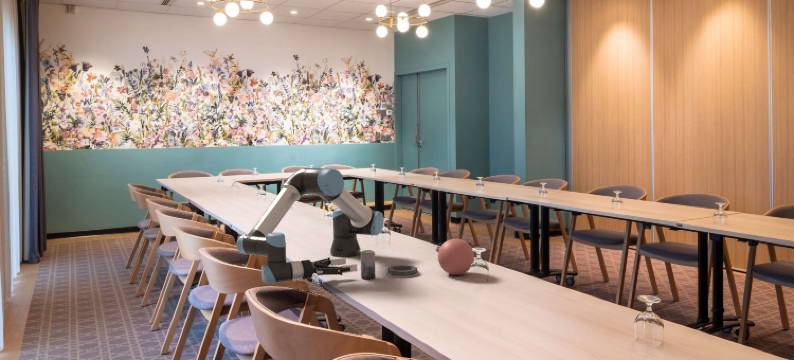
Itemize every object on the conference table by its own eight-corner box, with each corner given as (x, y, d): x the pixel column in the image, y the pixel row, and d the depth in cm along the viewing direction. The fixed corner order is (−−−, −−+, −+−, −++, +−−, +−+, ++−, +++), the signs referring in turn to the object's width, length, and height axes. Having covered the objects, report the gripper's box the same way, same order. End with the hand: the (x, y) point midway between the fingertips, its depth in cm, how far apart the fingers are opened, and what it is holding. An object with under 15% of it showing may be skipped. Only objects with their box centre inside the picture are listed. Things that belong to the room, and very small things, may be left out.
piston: (359, 277, 261) (358, 250, 260) (372, 275, 264) (371, 249, 263) (364, 280, 256) (363, 253, 255) (377, 278, 258) (377, 251, 257)
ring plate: (381, 271, 270) (381, 266, 270) (410, 268, 276) (410, 262, 275) (394, 279, 257) (394, 273, 257) (424, 275, 263) (424, 269, 263)
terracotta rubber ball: (452, 266, 278) (452, 232, 276) (481, 275, 261) (481, 239, 260) (424, 271, 270) (424, 236, 268) (452, 281, 253) (452, 243, 251)
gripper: (293, 272, 259) (341, 266, 267) (310, 286, 236) (362, 279, 245) (292, 254, 258) (340, 249, 267) (309, 267, 235) (361, 261, 244)
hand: (351, 264), depth 256 cm, fingers open, 13 cm apart
